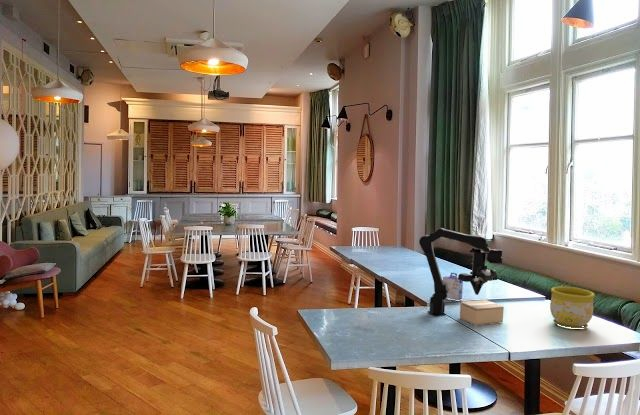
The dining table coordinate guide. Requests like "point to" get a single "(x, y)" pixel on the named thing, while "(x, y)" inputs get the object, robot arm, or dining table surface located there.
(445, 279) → the ink cartridge box
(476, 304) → the carton lid
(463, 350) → the dining table surface
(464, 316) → the carton
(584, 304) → the flowerpot
